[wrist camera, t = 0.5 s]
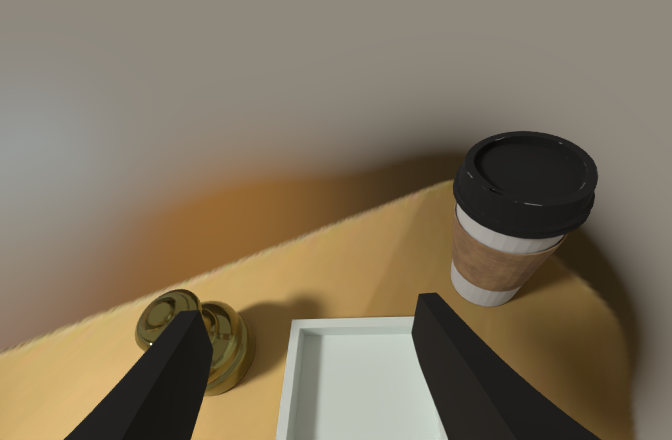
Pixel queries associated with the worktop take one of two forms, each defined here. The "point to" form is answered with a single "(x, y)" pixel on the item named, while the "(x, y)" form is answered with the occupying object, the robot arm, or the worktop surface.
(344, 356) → the tray
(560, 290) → the worktop surface
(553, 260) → the worktop surface
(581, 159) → the coffee cup
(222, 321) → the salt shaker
